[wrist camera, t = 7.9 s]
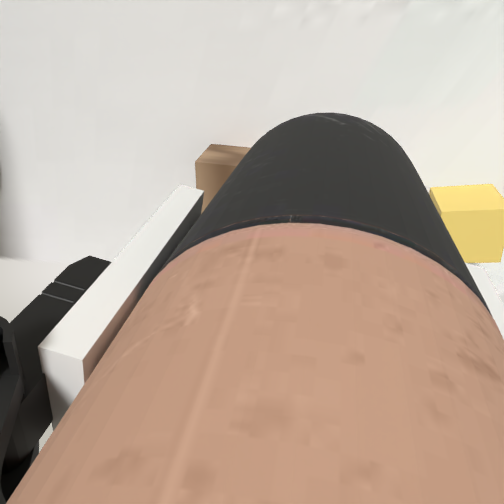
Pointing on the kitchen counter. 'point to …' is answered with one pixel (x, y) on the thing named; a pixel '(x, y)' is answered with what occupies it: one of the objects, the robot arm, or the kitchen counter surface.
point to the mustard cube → (473, 220)
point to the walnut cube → (216, 168)
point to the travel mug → (296, 348)
